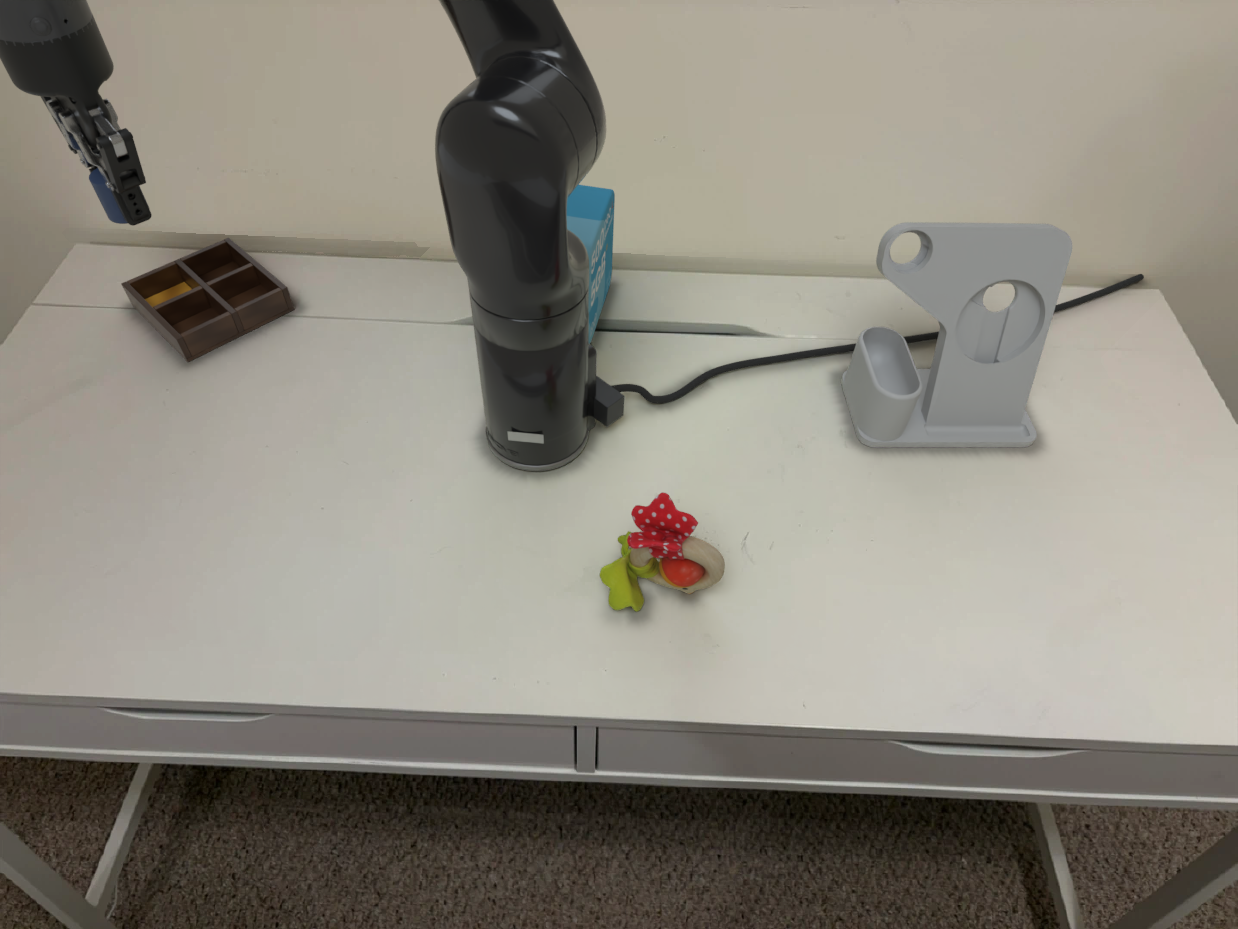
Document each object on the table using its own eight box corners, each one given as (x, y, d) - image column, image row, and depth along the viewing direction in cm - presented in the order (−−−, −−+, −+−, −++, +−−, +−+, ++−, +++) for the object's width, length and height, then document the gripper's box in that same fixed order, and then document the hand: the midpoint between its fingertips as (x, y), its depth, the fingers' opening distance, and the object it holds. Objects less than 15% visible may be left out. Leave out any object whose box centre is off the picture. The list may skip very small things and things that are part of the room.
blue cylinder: (138, 197, 79) (121, 158, 76) (156, 213, 77) (139, 174, 74) (101, 212, 77) (81, 172, 74) (118, 228, 75) (99, 189, 72)
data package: (588, 352, 84) (589, 252, 74) (545, 345, 84) (541, 245, 75) (611, 280, 91) (615, 182, 82) (572, 274, 92) (571, 176, 83)
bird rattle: (686, 569, 70) (589, 535, 67) (759, 501, 62) (652, 460, 59) (683, 635, 66) (580, 602, 63) (760, 572, 58) (646, 531, 55)
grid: (237, 259, 91) (228, 237, 89) (294, 309, 86) (287, 287, 84) (132, 305, 86) (120, 283, 83) (187, 362, 81) (176, 339, 78)
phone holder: (856, 447, 77) (916, 291, 63) (834, 372, 83) (884, 215, 69) (1038, 447, 77) (1136, 293, 64) (1002, 372, 84) (1084, 218, 70)
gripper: (127, 33, 63) (204, 228, 76) (49, -23, 69) (134, 167, 82) (23, 62, 59) (124, 261, 72) (-49, 0, 65) (56, 194, 78)
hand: (129, 210), depth 77 cm, fingers closed on blue cylinder, 3 cm apart
